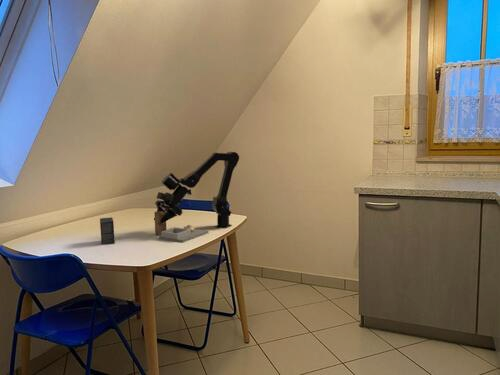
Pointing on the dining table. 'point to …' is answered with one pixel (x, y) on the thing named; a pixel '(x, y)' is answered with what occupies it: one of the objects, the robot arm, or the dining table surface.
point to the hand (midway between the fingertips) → (157, 221)
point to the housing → (182, 234)
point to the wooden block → (158, 225)
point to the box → (107, 230)
